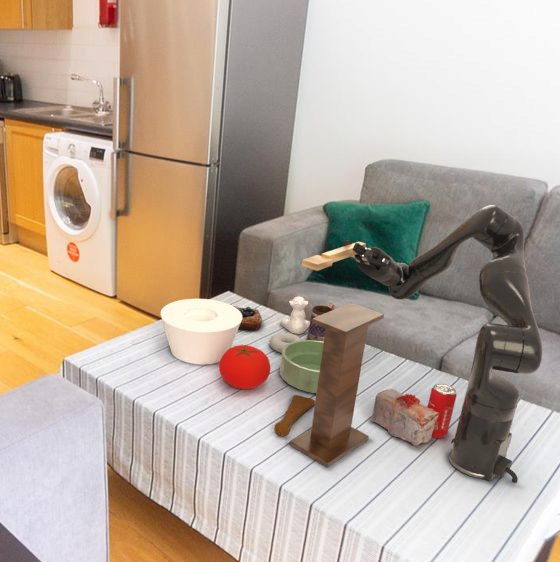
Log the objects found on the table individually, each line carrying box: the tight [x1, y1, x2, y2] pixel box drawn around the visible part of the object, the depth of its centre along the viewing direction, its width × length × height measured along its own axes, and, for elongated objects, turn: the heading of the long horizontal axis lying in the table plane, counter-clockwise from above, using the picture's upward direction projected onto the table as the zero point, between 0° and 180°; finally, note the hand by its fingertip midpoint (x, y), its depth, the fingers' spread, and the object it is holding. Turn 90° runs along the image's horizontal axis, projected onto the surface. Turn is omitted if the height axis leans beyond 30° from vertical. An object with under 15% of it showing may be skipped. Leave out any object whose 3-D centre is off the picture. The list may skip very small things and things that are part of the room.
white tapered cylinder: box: [160, 298, 242, 365], centre depth 175 cm, size 24×24×12 cm
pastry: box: [232, 305, 263, 332], centre depth 194 cm, size 11×12×6 cm
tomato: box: [218, 344, 271, 390], centre depth 158 cm, size 14×13×10 cm
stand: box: [289, 302, 385, 468], centre depth 130 cm, size 10×16×32 cm, turn 128°
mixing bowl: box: [279, 339, 324, 394], centre depth 161 cm, size 19×19×7 cm
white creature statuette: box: [280, 296, 310, 335], centre depth 189 cm, size 10×9×12 cm
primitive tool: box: [273, 394, 316, 437], centre depth 144 cm, size 19×6×4 cm, turn 150°
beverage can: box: [427, 383, 457, 440], centre depth 137 cm, size 5×5×12 cm
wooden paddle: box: [301, 241, 367, 272], centre depth 147 cm, size 22×4×2 cm, turn 127°
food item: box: [371, 388, 439, 447], centre depth 137 cm, size 14×8×10 cm, turn 32°
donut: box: [269, 332, 302, 354], centre depth 178 cm, size 10×4×10 cm
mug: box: [306, 302, 336, 342], centre depth 181 cm, size 10×7×12 cm
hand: (350, 245), depth 150 cm, fingers closed on wooden paddle, 2 cm apart
